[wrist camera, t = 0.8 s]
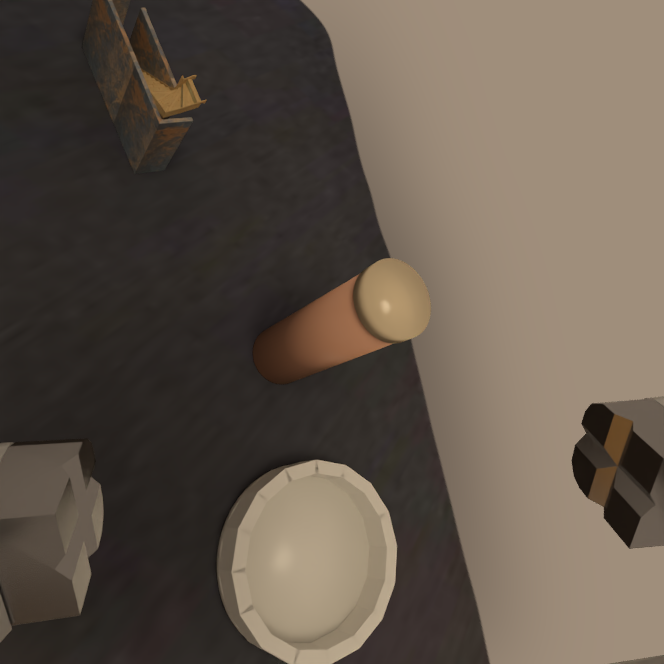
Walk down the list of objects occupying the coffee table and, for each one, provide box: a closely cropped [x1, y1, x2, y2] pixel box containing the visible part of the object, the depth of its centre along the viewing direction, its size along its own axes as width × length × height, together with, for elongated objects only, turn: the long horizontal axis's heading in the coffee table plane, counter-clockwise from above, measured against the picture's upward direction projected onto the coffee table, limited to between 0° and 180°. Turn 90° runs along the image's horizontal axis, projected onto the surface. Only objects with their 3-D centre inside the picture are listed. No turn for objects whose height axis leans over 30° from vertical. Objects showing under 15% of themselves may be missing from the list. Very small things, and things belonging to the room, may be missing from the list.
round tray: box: [216, 460, 397, 664], centre depth 42 cm, size 14×14×3 cm
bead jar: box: [253, 258, 431, 384], centre depth 40 cm, size 5×5×16 cm
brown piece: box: [82, 0, 207, 174], centre depth 42 cm, size 11×3×10 cm, turn 27°
